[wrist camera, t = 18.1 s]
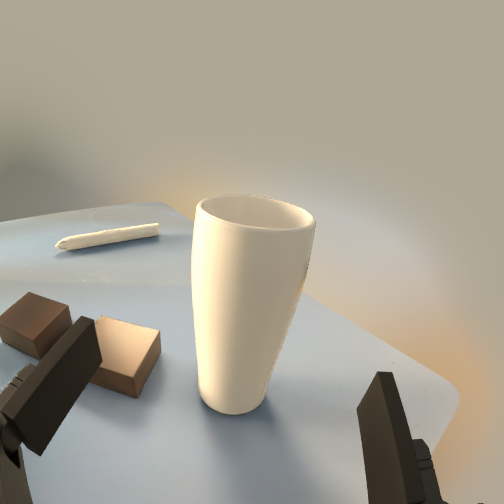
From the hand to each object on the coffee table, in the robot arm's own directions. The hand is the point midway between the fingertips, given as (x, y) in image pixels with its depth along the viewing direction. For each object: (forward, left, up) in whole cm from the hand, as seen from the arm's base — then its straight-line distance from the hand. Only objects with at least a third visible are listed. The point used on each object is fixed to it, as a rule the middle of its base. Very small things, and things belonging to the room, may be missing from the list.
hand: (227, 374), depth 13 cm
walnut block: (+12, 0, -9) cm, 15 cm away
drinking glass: (+4, -6, -10) cm, 12 cm away
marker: (+37, -11, -10) cm, 40 cm away
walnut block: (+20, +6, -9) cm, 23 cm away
